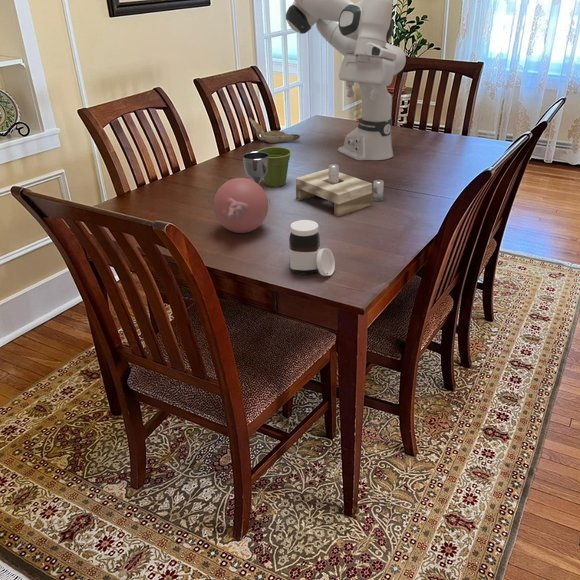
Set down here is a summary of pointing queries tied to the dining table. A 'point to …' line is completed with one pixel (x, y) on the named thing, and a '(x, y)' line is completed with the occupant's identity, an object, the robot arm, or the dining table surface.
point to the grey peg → (333, 175)
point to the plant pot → (276, 165)
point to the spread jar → (309, 249)
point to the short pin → (378, 190)
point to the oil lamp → (273, 134)
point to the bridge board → (336, 191)
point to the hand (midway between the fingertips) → (360, 98)
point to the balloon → (240, 205)
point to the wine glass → (256, 165)
